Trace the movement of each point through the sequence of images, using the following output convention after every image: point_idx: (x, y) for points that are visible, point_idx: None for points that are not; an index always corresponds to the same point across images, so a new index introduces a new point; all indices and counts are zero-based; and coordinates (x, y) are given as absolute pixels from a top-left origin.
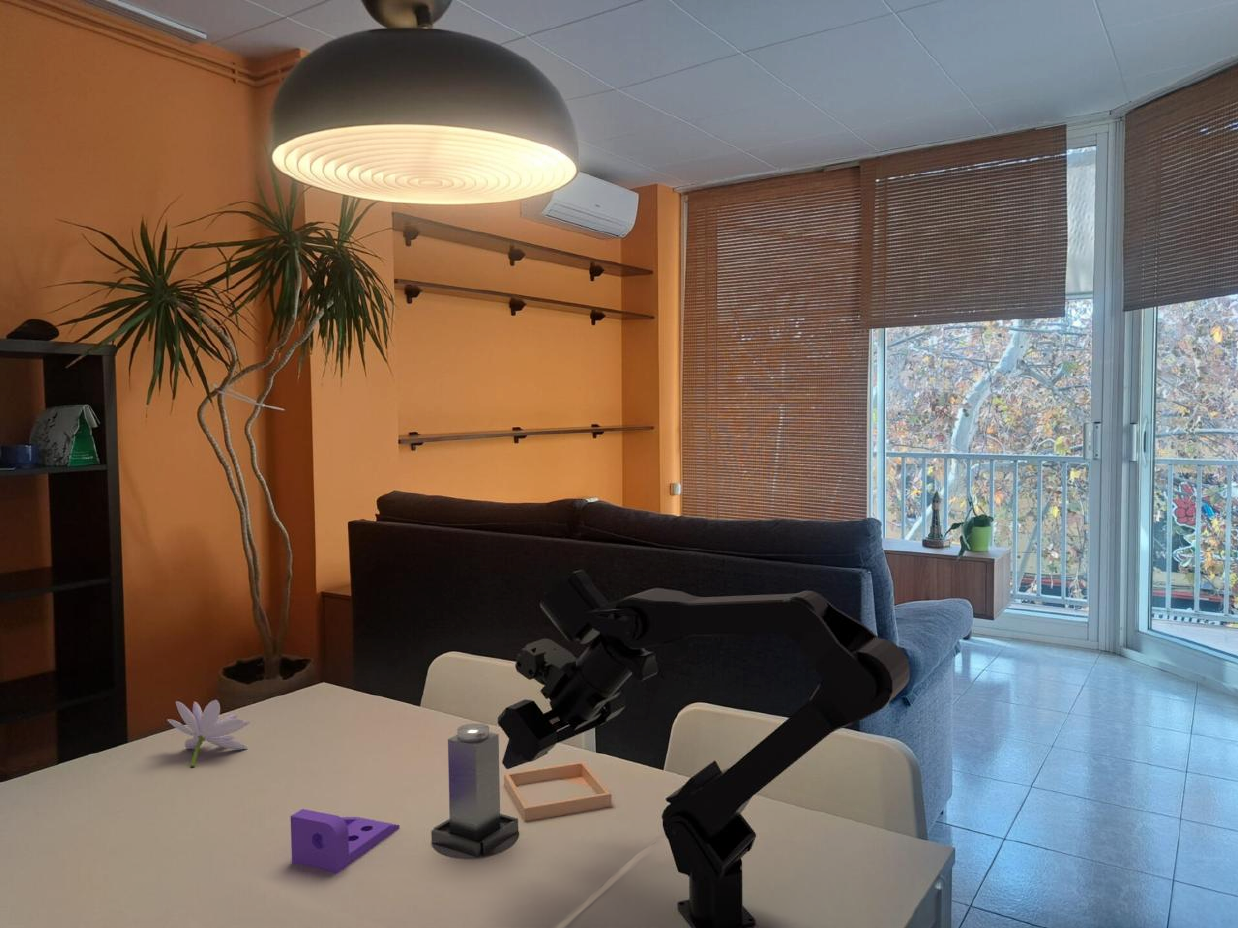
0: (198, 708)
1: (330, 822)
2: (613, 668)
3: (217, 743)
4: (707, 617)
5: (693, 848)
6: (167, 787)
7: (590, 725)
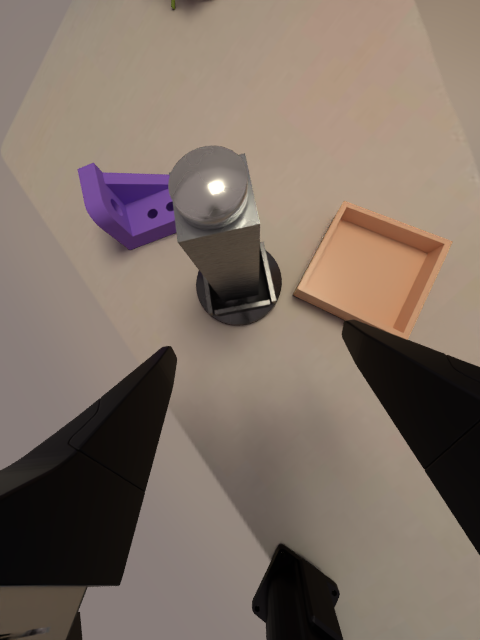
0: None
1: (89, 207)
2: None
3: None
4: None
5: None
6: (142, 34)
7: (458, 511)
